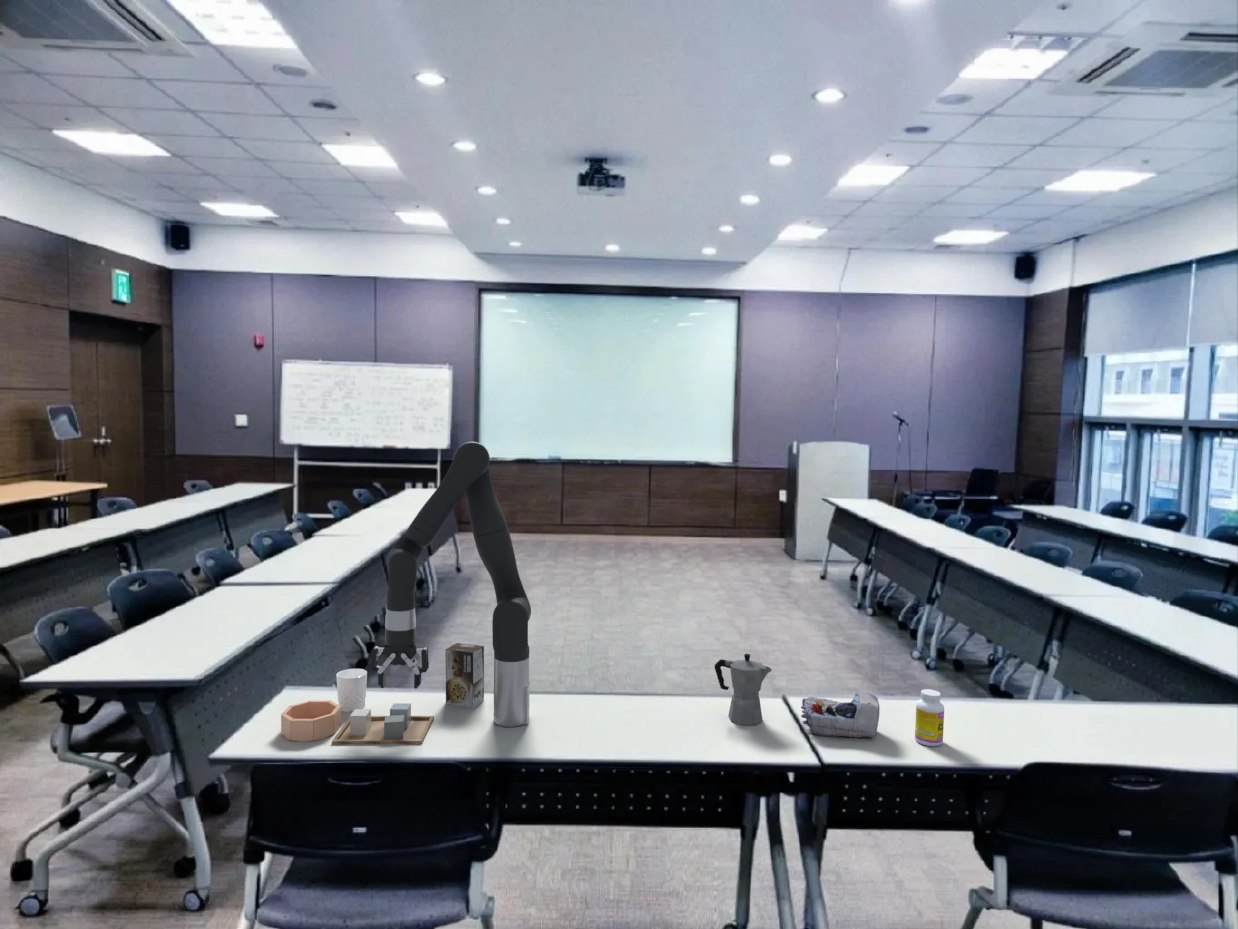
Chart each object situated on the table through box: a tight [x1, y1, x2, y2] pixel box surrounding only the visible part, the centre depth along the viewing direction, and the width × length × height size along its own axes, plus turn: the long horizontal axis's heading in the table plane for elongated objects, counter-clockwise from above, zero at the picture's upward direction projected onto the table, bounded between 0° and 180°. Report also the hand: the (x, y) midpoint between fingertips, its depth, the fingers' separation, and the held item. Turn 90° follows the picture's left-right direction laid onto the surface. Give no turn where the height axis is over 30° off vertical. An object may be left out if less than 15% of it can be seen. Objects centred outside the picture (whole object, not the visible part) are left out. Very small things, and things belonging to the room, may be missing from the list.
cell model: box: [800, 688, 880, 739], centre depth 201 cm, size 13×11×20 cm
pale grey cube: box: [349, 708, 372, 735], centre depth 193 cm, size 4×4×5 cm
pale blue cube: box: [389, 702, 412, 728], centre depth 197 cm, size 4×4×5 cm
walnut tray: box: [331, 715, 435, 746], centre depth 194 cm, size 22×16×1 cm
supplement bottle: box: [914, 688, 945, 747], centre depth 195 cm, size 7×7×13 cm
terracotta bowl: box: [280, 700, 342, 742], centre depth 193 cm, size 13×13×6 cm
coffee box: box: [444, 642, 485, 708], centre depth 214 cm, size 9×6×16 cm
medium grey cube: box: [384, 715, 404, 740], centre depth 191 cm, size 5×4×4 cm
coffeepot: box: [714, 653, 772, 727], centre depth 207 cm, size 15×9×18 cm, turn 70°
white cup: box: [336, 668, 368, 713], centre depth 209 cm, size 8×8×10 cm
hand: (399, 687), depth 197 cm, fingers open, 8 cm apart
